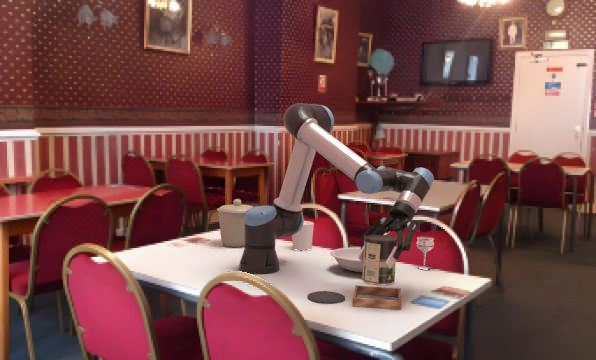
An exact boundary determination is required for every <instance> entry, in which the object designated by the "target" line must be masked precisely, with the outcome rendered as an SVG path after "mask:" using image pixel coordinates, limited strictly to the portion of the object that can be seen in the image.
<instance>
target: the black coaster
mask: <svg viewBox="0 0 596 360" xmlns="http://www.w3.org/2000/svg"><path fill="white" fill-rule="evenodd" d="M306 297H307V298H306V299H308V301H311V302H313V303H319V304H325V305H328V304H329V305H331V304H340V303H342V302H344V301H345V300H346V296H345V295H344V294H342V293H340V292H336V291H329V290H320V291H319V290H318V291H312V292H310V293H308V294H307V296H306Z"/></svg>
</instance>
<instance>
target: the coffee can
mask: <svg viewBox="0 0 596 360" xmlns="http://www.w3.org/2000/svg"><path fill="white" fill-rule="evenodd" d="M363 243H364V256H363V272H362V277H361V278H362V279H361V281H362V283H364V284H367V285H372V286H375V287H386V286H387V287H389V286H393V285H394V284H395V282H396V281H395V278H396V277H395V276H396V262H397V261H396V260H397V259H396V260H395V262H394V263H393V265H392V267H391V269H389V268H388V267H387V265H386V264H385V262H386V261H387V259H388V257H389V255H390V254H391V252H392V250H393V248H394V247H395V246H396V247H397V245H398V244H397V236H396V237H395V236H393V235H389V234H384V235H379V234H372V235H366V236H364V240H363Z"/></svg>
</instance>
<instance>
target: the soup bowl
mask: <svg viewBox="0 0 596 360" xmlns="http://www.w3.org/2000/svg"><path fill="white" fill-rule="evenodd" d="M360 251H361V246H360V247H340V248H336V249H333V250H331V251H330V256H332V257H333V258H334V260H335V261H336V262H337V264H338V265H340V266H341V267H342V268H343V269H345V270H347V271H351V272H356V273H363V262H361V261H360V260H359V258H358V257H357V256H358V254H359V252H360Z"/></svg>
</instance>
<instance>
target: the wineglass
mask: <svg viewBox="0 0 596 360" xmlns="http://www.w3.org/2000/svg"><path fill="white" fill-rule="evenodd" d="M416 239H417V241H416V246H417V249H419V250H420V251H421V252H422V253H423V266H422V267H423V268H429V267H427V266H426V257H427V253H428V252H429V251H431V250H432V249H433V248H434V246H435V242H434V240H435V238H434V237H431V236H430V237H429V236H417V237H416Z"/></svg>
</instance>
